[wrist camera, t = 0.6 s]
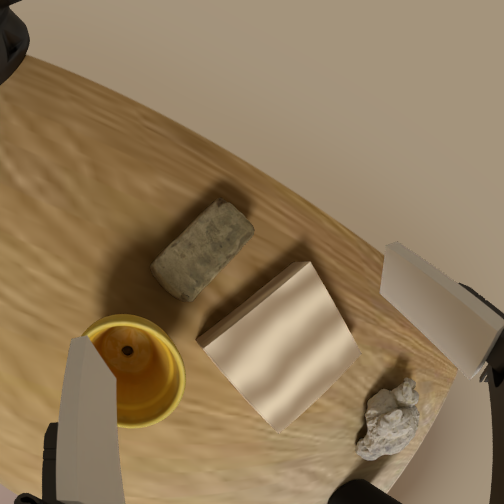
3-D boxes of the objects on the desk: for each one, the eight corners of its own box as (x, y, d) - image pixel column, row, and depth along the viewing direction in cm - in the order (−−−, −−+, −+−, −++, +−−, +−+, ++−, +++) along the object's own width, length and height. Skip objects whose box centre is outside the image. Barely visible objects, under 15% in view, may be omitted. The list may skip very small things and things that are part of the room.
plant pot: (172, 389, 32) (187, 429, 22) (89, 386, 28) (77, 426, 19) (172, 306, 32) (187, 321, 23) (84, 300, 28) (64, 314, 19)
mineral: (422, 386, 47) (449, 389, 37) (384, 462, 42) (405, 477, 32) (375, 366, 49) (397, 367, 39) (333, 446, 44) (348, 463, 34)
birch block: (195, 339, 33) (203, 348, 29) (293, 261, 38) (310, 261, 35) (265, 420, 36) (278, 433, 32) (344, 347, 41) (361, 353, 38)
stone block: (244, 233, 36) (261, 229, 32) (181, 304, 33) (188, 310, 28) (211, 199, 35) (223, 190, 30) (144, 269, 31) (145, 270, 27)
